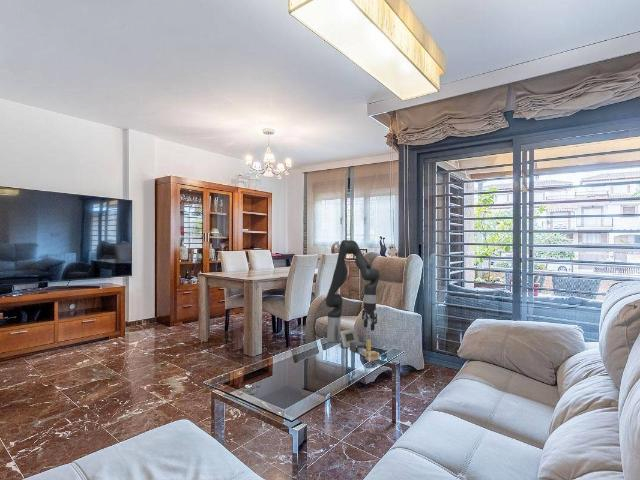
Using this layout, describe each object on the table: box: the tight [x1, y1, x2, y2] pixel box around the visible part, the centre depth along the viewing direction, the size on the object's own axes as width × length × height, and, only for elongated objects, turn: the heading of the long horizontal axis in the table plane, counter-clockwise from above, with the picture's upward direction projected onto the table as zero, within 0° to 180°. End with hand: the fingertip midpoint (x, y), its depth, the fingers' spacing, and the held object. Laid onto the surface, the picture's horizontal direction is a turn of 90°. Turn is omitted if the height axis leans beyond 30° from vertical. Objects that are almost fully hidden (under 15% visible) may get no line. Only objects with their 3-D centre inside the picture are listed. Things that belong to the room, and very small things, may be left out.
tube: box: [356, 339, 372, 357], centre depth 221 cm, size 18×3×10 cm, turn 21°
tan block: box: [364, 350, 380, 362], centre depth 212 cm, size 5×7×4 cm
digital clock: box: [339, 328, 360, 349], centre depth 243 cm, size 16×9×11 cm, turn 124°
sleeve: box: [349, 341, 365, 353], centre depth 231 cm, size 7×6×5 cm
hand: (368, 328), depth 217 cm, fingers open, 8 cm apart
